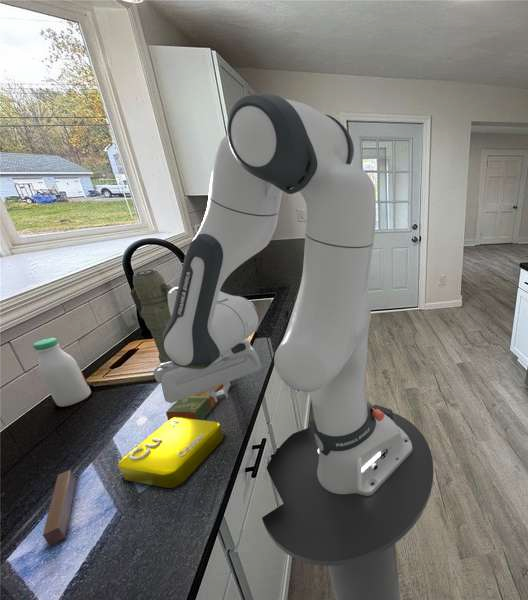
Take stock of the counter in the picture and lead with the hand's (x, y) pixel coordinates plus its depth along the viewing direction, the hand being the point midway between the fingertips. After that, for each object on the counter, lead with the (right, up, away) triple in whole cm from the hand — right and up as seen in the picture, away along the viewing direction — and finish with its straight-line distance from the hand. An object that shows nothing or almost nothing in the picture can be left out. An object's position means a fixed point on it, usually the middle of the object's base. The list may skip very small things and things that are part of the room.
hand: (221, 398), depth 76 cm
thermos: (-32, 0, +32) cm, 45 cm away
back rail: (-23, -18, -14) cm, 32 cm away
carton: (-13, -6, +14) cm, 20 cm away
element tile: (-8, -13, -3) cm, 15 cm away
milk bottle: (-56, -6, +19) cm, 59 cm away
